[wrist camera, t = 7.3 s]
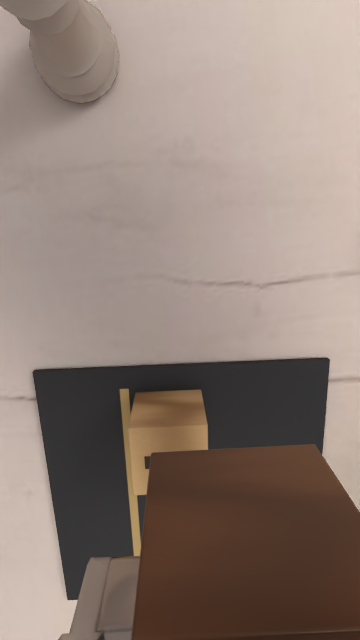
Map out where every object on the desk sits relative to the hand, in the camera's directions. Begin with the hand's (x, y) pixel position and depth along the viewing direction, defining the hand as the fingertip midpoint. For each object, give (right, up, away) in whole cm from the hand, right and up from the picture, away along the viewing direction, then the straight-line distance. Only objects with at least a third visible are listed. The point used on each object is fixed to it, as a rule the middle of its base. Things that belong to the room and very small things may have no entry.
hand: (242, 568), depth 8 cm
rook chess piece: (-7, +20, +11) cm, 24 cm away
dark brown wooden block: (0, 0, +2) cm, 2 cm away
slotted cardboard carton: (-2, -1, +16) cm, 16 cm away
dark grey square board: (-1, -7, +18) cm, 19 cm away
